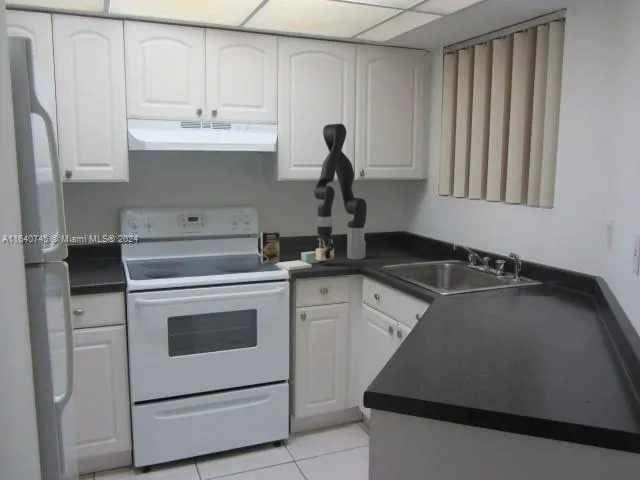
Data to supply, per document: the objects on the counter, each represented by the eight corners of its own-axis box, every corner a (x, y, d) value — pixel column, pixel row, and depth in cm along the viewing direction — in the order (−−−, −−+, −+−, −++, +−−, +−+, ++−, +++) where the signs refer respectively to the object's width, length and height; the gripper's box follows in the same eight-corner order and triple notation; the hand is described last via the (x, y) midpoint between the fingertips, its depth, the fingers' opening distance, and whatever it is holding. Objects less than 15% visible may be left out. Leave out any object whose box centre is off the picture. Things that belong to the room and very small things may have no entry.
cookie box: (262, 264, 275) (262, 233, 273) (260, 261, 282) (260, 231, 279) (279, 263, 278) (279, 232, 275) (277, 260, 284) (277, 231, 282)
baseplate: (298, 263, 278) (298, 260, 278) (311, 267, 267) (311, 264, 267) (276, 265, 271) (276, 262, 271) (288, 270, 260) (288, 267, 260)
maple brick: (328, 257, 278) (328, 247, 277) (334, 259, 274) (334, 248, 273) (315, 259, 274) (315, 248, 273) (321, 260, 269) (320, 250, 268)
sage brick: (314, 261, 284) (314, 251, 283) (319, 262, 280) (319, 252, 279) (301, 262, 280) (301, 252, 279) (306, 264, 276) (306, 253, 275)
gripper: (338, 226, 267) (338, 259, 269) (323, 222, 279) (323, 254, 281) (326, 227, 263) (326, 260, 266) (311, 224, 275) (311, 256, 278)
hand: (324, 257), depth 273 cm, fingers closed on maple brick, 5 cm apart
